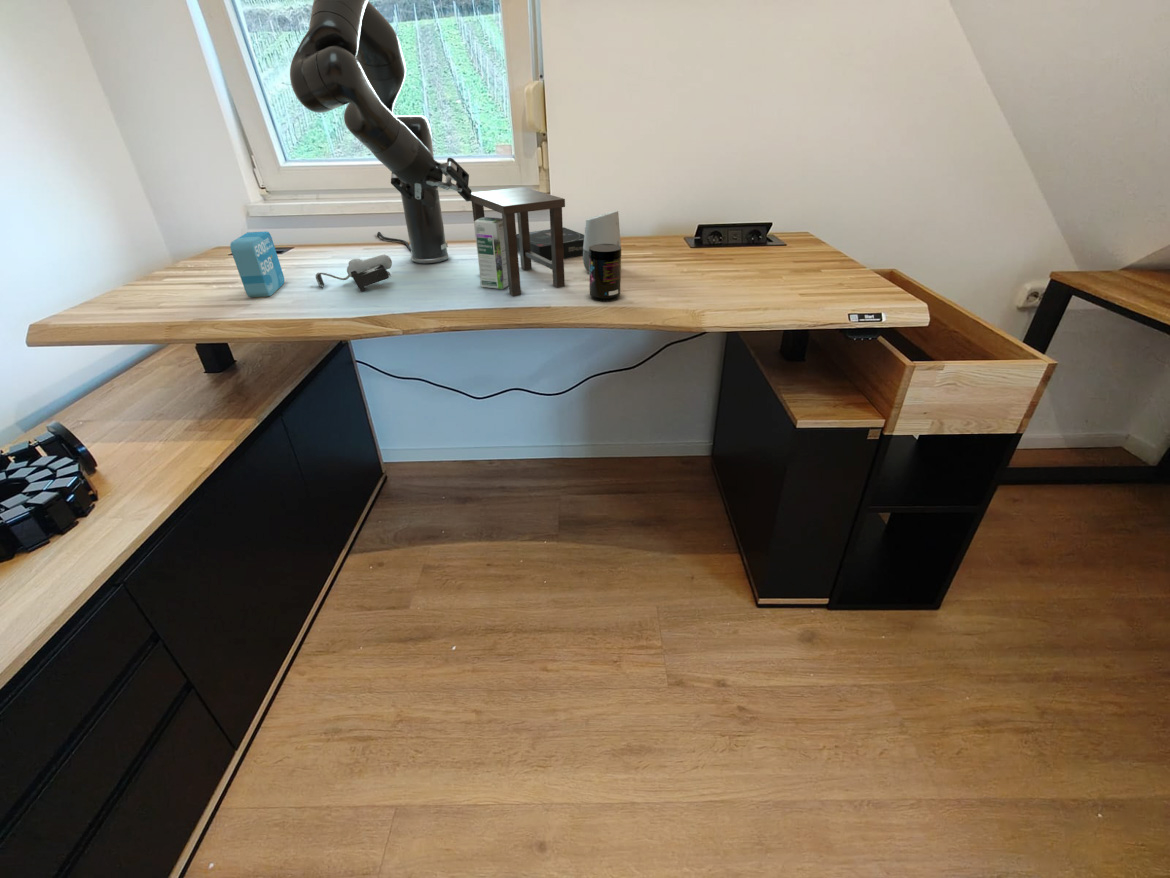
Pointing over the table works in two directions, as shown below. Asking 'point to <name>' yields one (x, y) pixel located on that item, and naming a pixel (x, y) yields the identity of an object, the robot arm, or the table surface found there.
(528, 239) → the side table
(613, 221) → the smart speaker
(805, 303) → the table surface
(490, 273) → the syrup box
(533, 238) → the black flat box
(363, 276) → the clip-on lamp
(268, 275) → the data package
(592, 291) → the supplement container
